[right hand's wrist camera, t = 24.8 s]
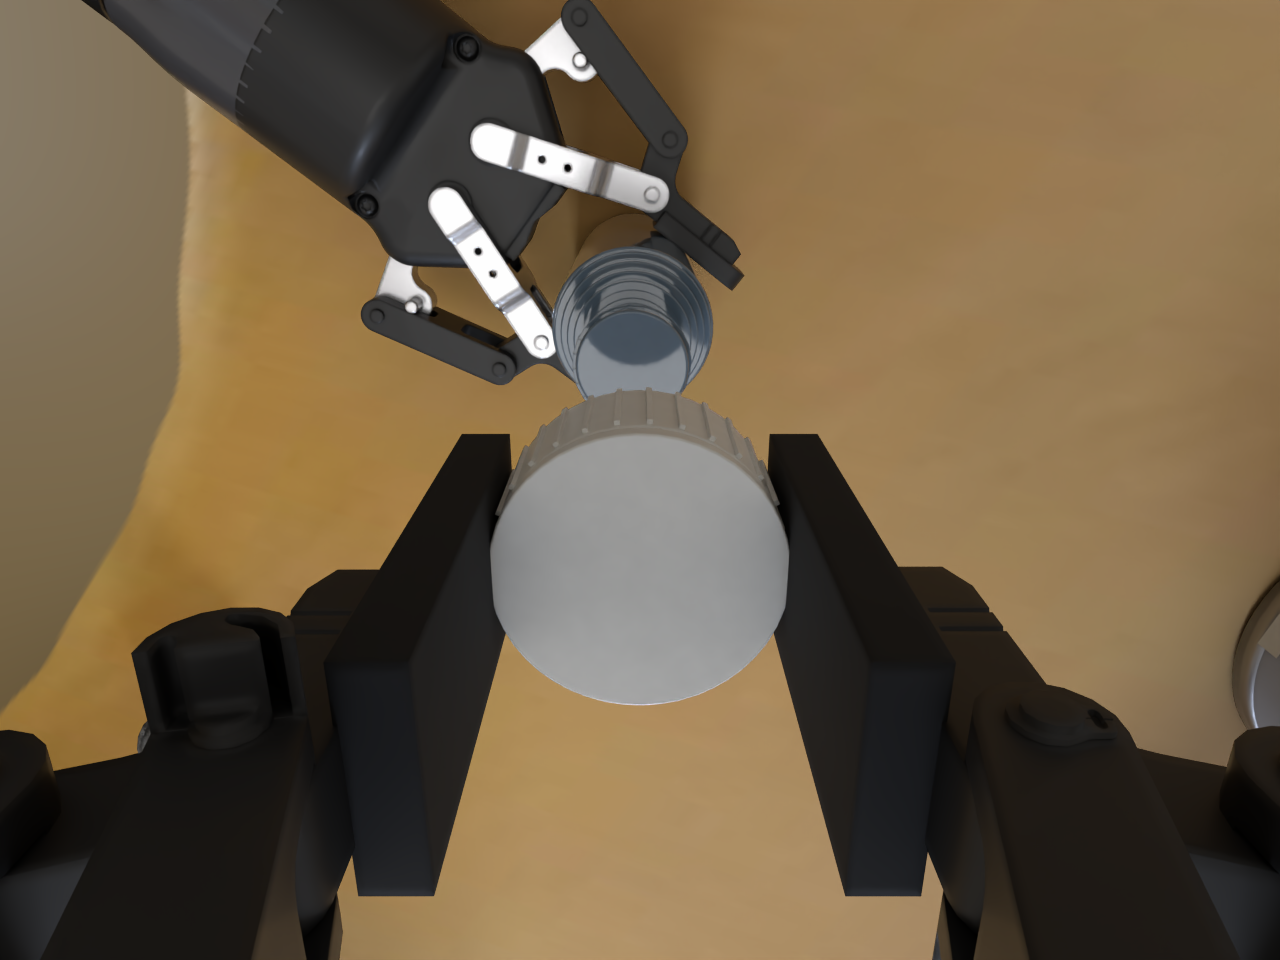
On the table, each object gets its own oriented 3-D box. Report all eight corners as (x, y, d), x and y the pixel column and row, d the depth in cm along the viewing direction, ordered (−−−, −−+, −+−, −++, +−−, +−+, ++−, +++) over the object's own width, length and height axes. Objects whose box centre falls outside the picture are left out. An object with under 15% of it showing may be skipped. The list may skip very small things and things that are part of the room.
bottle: (552, 267, 39) (495, 359, 23) (638, 188, 37) (640, 225, 21) (628, 351, 40) (624, 493, 24) (713, 277, 39) (768, 374, 23)
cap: (709, 662, 15) (720, 745, 13) (472, 579, 15) (443, 653, 13) (818, 443, 14) (850, 498, 12) (559, 343, 13) (543, 381, 11)
